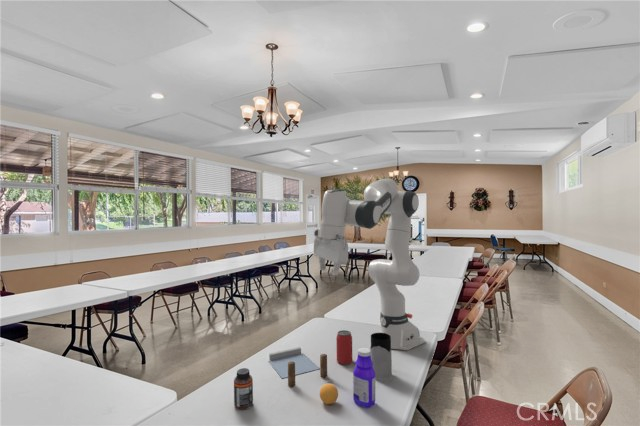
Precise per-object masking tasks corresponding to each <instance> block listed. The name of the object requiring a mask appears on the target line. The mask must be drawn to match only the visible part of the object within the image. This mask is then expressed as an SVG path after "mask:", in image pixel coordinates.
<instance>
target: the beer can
mask: <svg viewBox="0 0 640 426" xmlns="http://www.w3.org/2000/svg"><path fill="white" fill-rule="evenodd" d="M335 339H336V362H337V363H338V364H341V365H349V364H351V363H353V336H352V332H351V331H349V330H346V329H343V330H338V332H337V334H336V338H335Z"/></svg>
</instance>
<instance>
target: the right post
mask: <svg viewBox="0 0 640 426" xmlns="http://www.w3.org/2000/svg"><path fill="white" fill-rule="evenodd" d="M319 362H320V363H319V364H320V365H319V368H320V369H319V371H320V375H319V376H320V378H321V379H326V378H328V355H327V354H326V353H321V354H320V358H319Z"/></svg>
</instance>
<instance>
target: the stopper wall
mask: <svg viewBox="0 0 640 426" xmlns="http://www.w3.org/2000/svg"><path fill="white" fill-rule="evenodd" d="M298 354H302V348H301V347H300V346H299V347H294V348H288V349H284V350H281V351H280V350H279V351H276V352H275V351H274V352H271V353H269V360H268V361H272V360H276V359H280V358H285V357H289V356H294V355H298Z"/></svg>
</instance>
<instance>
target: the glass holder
mask: <svg viewBox="0 0 640 426" xmlns="http://www.w3.org/2000/svg"><path fill="white" fill-rule="evenodd" d="M369 349H370V354H371V360H372V362H373V366H372V367H373V369H374V371H375V382H382V383H383V382H390V381H391V380H393V377H394V376H393V373H392V372H393V366H392V349H391V336H390V335H389V334H386V332H384V333H380V332H374V333H371V334H370V348H369Z"/></svg>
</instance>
